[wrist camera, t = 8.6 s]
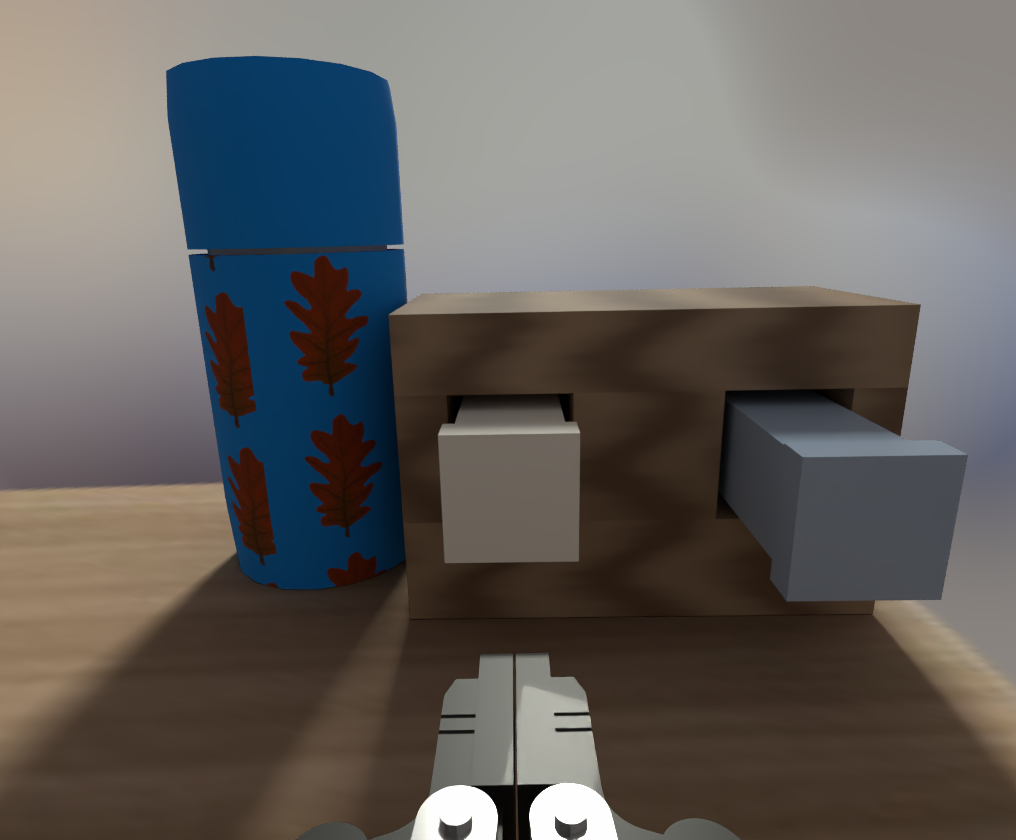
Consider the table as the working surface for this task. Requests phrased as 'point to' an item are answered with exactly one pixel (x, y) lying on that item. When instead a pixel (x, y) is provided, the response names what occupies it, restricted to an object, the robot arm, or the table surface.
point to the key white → (510, 481)
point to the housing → (632, 433)
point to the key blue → (839, 497)
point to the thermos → (296, 306)
